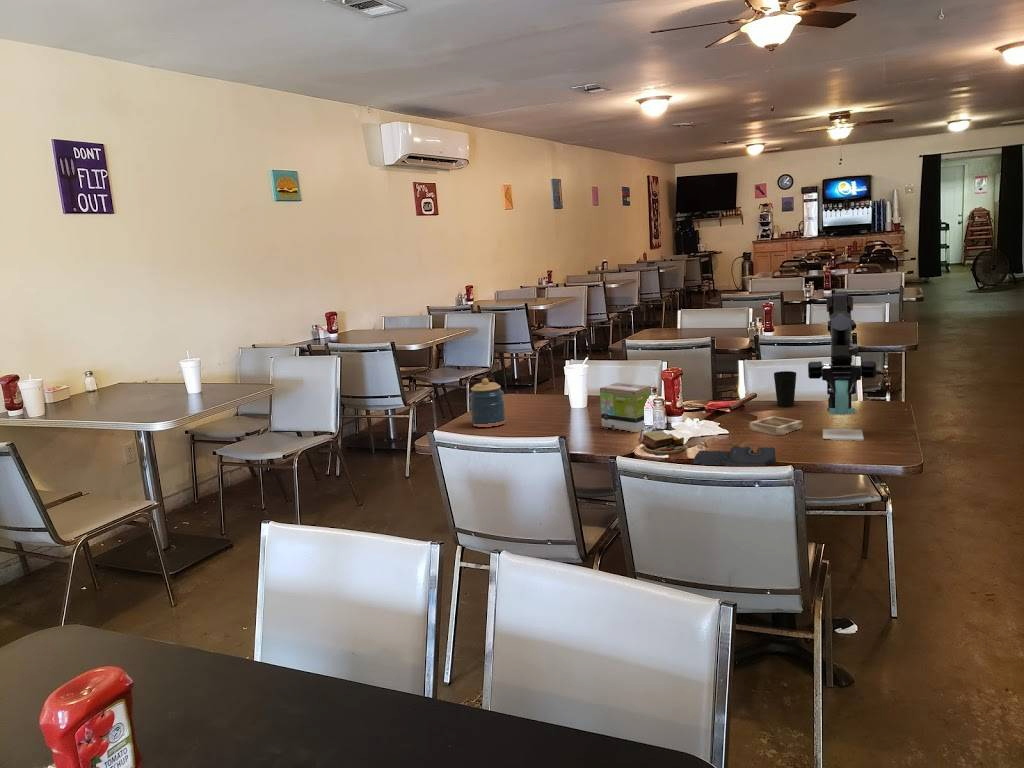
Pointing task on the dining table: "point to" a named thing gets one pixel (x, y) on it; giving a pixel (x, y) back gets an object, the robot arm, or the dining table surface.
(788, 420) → the socket collar
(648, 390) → the tea box
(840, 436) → the mat
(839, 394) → the t key
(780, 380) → the cup
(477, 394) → the canister
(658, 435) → the toy sandwich meal
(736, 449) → the dark slate chunk
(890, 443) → the dining table surface
